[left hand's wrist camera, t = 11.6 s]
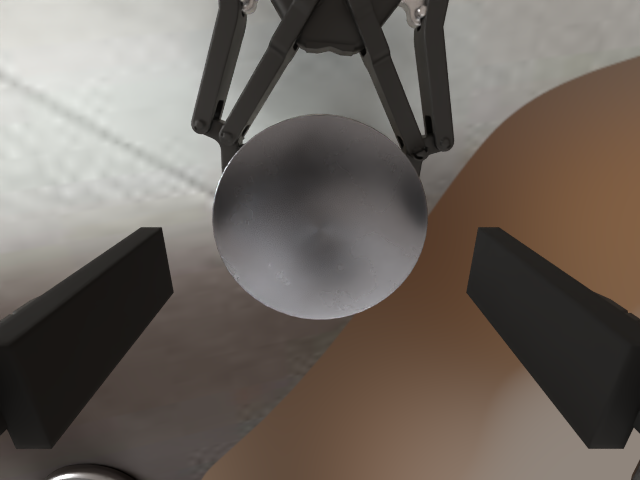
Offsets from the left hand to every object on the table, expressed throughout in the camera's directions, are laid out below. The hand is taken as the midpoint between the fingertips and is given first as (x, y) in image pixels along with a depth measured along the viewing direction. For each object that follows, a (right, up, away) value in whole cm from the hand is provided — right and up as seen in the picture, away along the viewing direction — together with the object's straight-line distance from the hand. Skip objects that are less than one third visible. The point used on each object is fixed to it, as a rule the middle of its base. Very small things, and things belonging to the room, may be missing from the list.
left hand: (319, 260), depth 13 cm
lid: (0, +1, +4) cm, 4 cm away
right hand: (0, +1, +14) cm, 14 cm away
